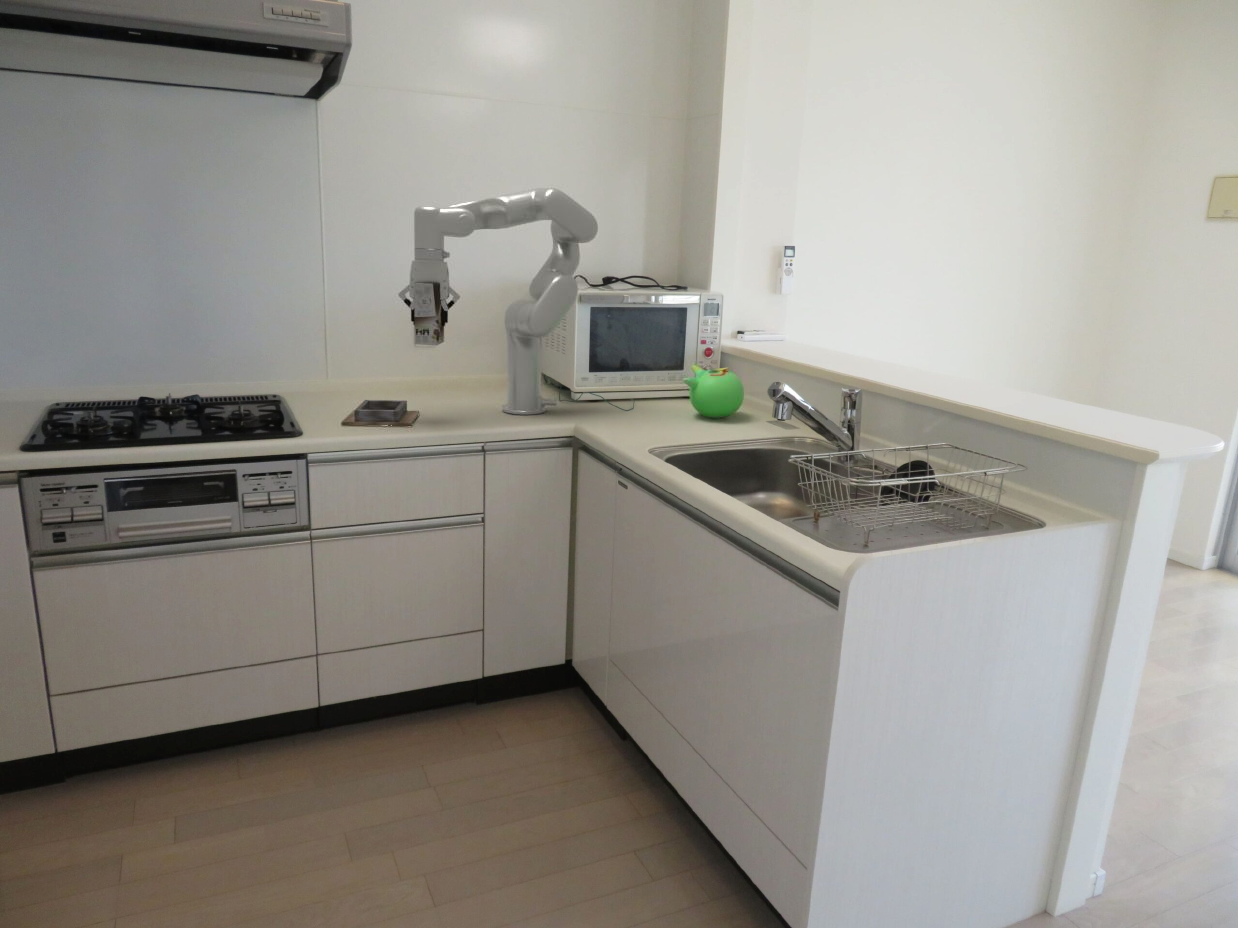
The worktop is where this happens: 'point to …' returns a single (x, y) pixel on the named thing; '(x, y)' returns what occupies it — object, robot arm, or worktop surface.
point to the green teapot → (715, 392)
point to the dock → (381, 414)
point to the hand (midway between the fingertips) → (429, 324)
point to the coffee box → (428, 314)
